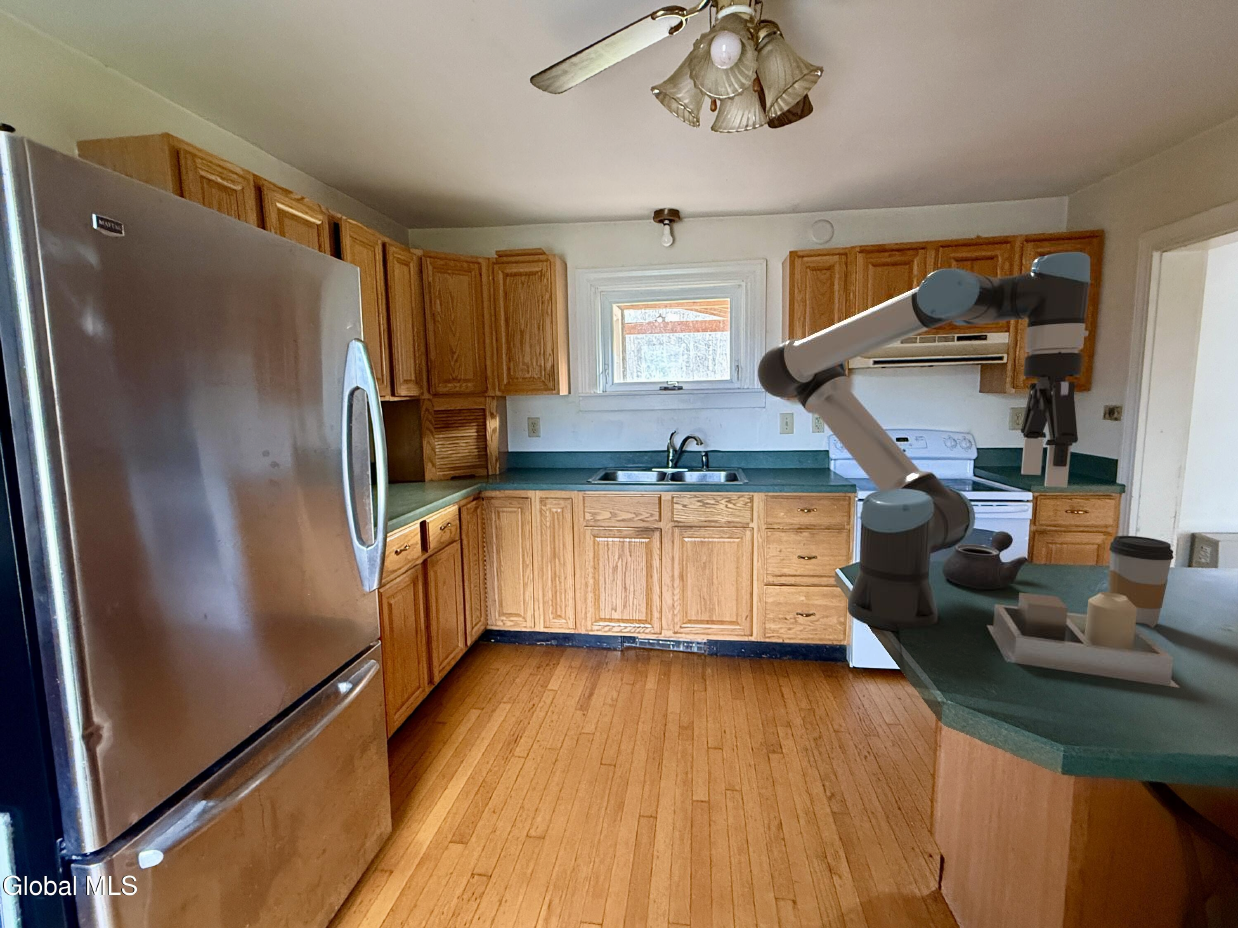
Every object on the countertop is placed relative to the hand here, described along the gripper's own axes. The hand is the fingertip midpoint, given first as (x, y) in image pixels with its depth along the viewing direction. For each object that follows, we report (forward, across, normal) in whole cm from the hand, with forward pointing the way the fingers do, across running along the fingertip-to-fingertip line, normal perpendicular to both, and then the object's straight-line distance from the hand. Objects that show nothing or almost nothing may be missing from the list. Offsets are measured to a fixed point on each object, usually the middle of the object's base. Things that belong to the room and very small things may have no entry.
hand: (1042, 480), depth 93 cm
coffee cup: (+27, +11, -18) cm, 34 cm away
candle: (+26, -10, -7) cm, 29 cm away
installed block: (+26, -10, +1) cm, 28 cm away
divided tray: (+27, -10, -3) cm, 29 cm away
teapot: (+27, +27, +1) cm, 38 cm away
